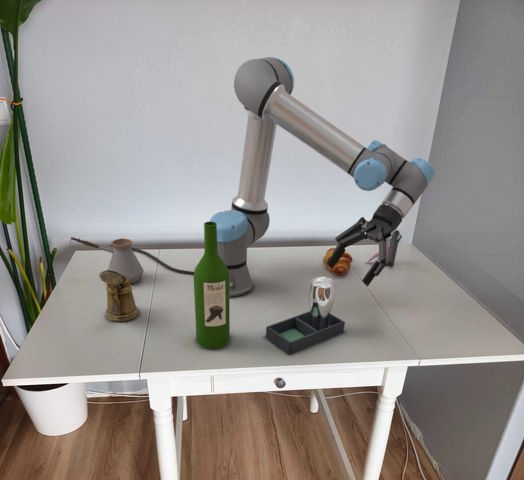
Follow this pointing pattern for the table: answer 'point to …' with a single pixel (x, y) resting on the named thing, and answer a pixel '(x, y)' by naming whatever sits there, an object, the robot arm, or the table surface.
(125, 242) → the coffee pot
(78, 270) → the table surface
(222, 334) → the wine bottle
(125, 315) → the wooden mug
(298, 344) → the rectangular tray
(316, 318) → the beer glass
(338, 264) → the croissant
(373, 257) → the lily
